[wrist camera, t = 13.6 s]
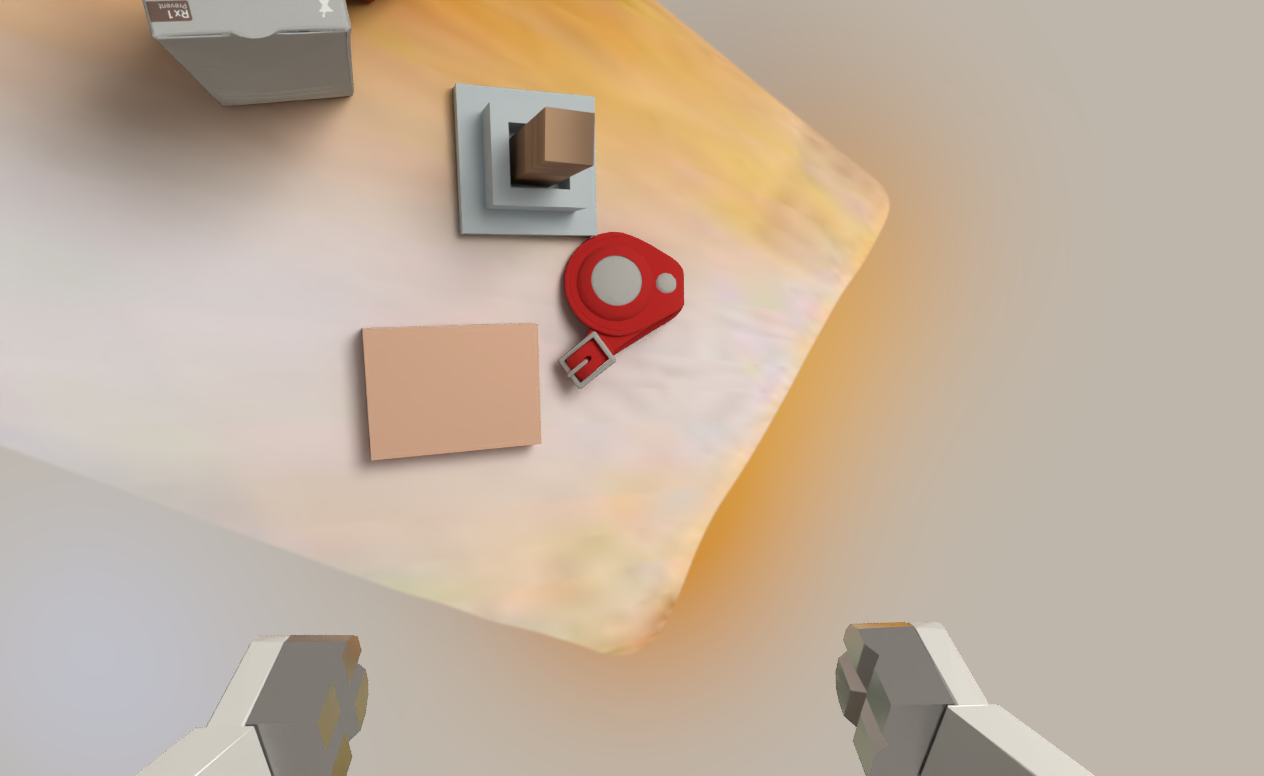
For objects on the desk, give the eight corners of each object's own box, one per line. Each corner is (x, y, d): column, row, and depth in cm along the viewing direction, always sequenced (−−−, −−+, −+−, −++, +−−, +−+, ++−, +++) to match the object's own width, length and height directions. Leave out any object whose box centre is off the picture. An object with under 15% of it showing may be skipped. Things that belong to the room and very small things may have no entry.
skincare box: (332, -5, 45) (326, -143, 30) (357, 111, 46) (362, 32, 32) (183, -3, 42) (97, -155, 27) (215, 120, 43) (149, 38, 29)
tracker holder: (559, 224, 52) (690, 228, 53) (556, 242, 56) (677, 245, 57) (560, 386, 50) (694, 385, 52) (557, 392, 55) (681, 391, 56)
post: (508, 183, 49) (544, 160, 40) (508, 139, 49) (545, 106, 40) (548, 187, 51) (593, 165, 41) (549, 144, 50) (594, 113, 41)
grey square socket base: (459, 234, 50) (469, 230, 46) (453, 87, 48) (462, 71, 45) (591, 236, 54) (609, 232, 50) (589, 100, 52) (607, 86, 48)
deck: (370, 454, 50) (371, 460, 48) (361, 327, 48) (362, 329, 46) (534, 438, 54) (541, 443, 52) (530, 322, 53) (537, 324, 51)
